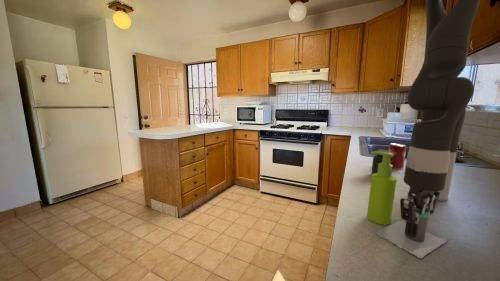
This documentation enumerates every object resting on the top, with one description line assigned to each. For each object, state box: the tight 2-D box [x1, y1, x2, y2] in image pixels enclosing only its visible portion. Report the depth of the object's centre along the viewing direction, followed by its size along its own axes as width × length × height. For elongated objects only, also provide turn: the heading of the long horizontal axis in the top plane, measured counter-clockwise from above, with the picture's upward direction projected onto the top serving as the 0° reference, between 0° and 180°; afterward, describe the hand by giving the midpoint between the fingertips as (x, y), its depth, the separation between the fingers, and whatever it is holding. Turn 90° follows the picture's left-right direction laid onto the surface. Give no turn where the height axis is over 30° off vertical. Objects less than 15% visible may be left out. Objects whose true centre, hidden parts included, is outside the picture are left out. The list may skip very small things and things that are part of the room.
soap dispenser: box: [366, 150, 398, 226], centre depth 60 cm, size 6×7×20 cm
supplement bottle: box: [370, 149, 391, 175], centre depth 96 cm, size 7×7×12 cm
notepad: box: [375, 219, 449, 252], centre depth 53 cm, size 13×10×1 cm
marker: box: [405, 208, 430, 242], centre depth 52 cm, size 4×4×7 cm
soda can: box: [388, 142, 407, 170], centre depth 108 cm, size 7×7×12 cm
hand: (414, 232), depth 52 cm, fingers closed on marker, 3 cm apart
